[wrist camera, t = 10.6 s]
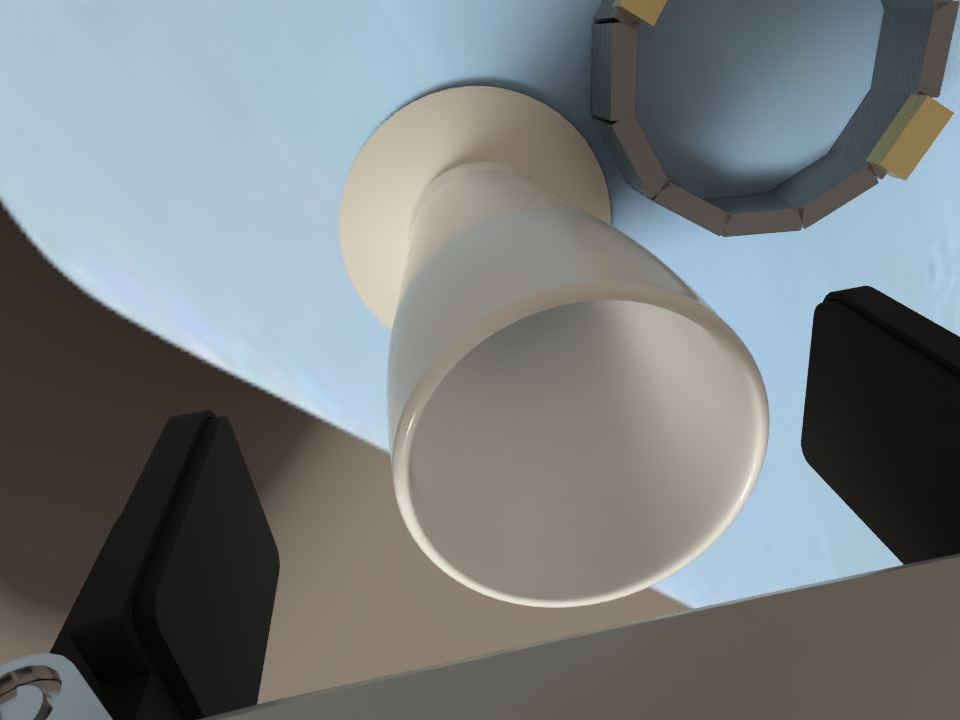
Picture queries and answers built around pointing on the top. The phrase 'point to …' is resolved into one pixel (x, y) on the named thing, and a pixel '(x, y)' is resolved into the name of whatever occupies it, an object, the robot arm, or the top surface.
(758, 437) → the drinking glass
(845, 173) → the collar
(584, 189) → the disc
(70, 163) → the top surface
